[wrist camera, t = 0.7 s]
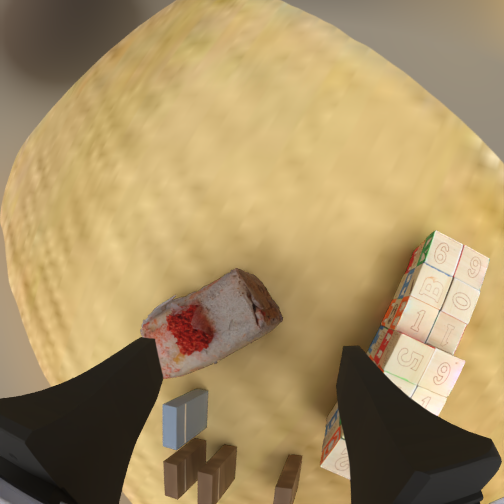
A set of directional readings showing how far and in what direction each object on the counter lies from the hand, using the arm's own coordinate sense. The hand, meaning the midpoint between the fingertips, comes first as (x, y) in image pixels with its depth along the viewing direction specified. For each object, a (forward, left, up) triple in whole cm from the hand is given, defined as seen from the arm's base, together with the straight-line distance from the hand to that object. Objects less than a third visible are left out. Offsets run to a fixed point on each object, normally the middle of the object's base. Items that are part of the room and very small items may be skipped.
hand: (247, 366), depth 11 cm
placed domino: (-11, +12, -23) cm, 28 cm away
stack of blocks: (-2, -10, -24) cm, 26 cm away
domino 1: (-18, +12, -23) cm, 32 cm away
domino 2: (-18, +8, -23) cm, 31 cm away
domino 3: (-18, 0, -23) cm, 29 cm away
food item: (0, +10, -24) cm, 26 cm away
